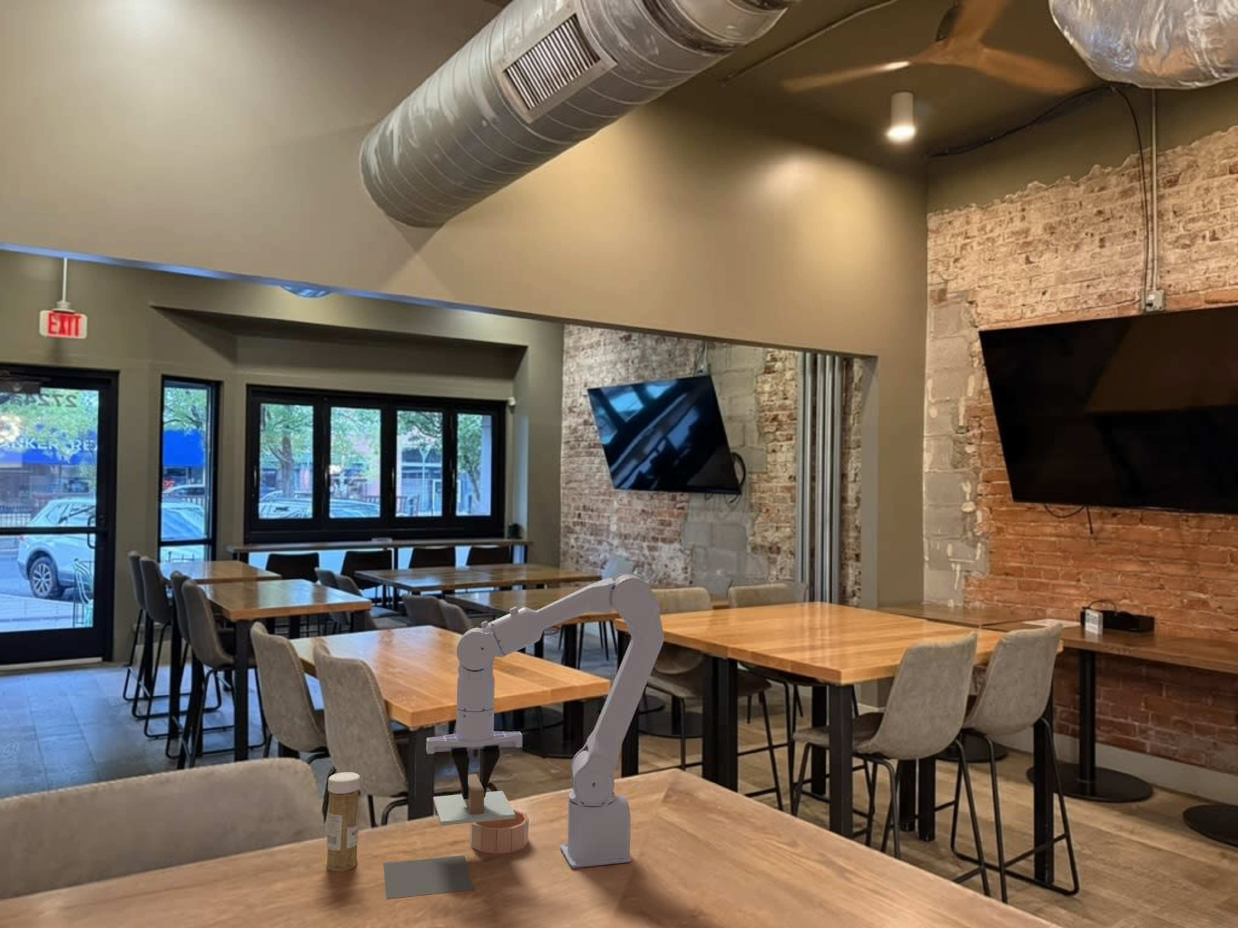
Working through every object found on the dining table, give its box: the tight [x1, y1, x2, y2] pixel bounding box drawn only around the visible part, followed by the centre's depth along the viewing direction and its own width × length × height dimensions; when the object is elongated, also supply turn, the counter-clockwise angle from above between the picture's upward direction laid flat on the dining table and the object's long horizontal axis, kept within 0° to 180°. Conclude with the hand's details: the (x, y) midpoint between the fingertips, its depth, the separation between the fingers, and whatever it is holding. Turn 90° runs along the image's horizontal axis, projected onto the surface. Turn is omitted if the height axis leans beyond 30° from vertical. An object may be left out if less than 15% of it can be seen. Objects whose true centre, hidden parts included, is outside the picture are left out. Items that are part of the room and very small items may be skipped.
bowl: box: [469, 809, 530, 855], centre depth 141 cm, size 9×9×4 cm
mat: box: [383, 854, 475, 900], centre depth 128 cm, size 12×12×1 cm
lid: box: [432, 773, 515, 827], centre depth 136 cm, size 11×11×4 cm
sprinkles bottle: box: [325, 771, 361, 872], centre depth 132 cm, size 5×5×14 cm
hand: (473, 796), depth 136 cm, fingers closed on lid, 2 cm apart
